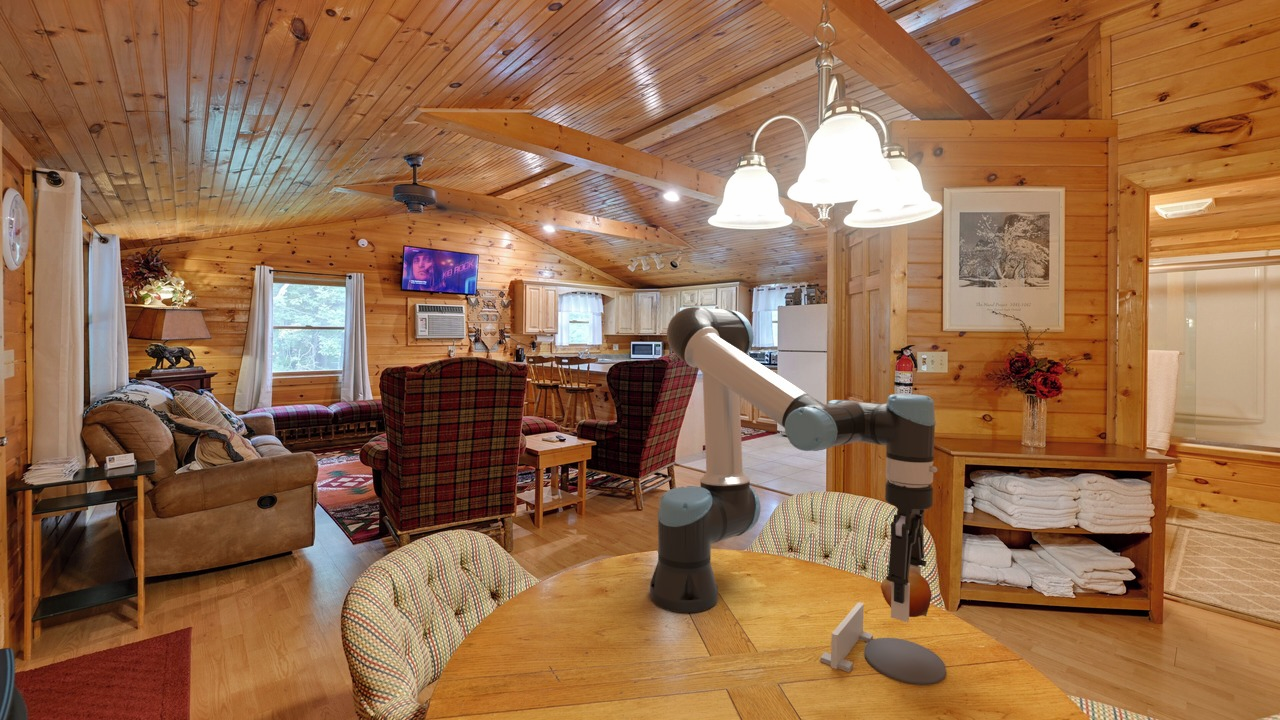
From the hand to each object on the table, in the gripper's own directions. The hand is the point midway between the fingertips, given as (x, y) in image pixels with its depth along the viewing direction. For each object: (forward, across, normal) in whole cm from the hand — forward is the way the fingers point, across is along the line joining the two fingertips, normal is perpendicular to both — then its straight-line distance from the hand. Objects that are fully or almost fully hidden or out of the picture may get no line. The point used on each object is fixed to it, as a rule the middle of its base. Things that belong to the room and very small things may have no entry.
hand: (906, 609), depth 96 cm
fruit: (0, 0, 0) cm, 0 cm away
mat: (+10, 0, 0) cm, 10 cm away
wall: (+10, -2, +9) cm, 13 cm away
